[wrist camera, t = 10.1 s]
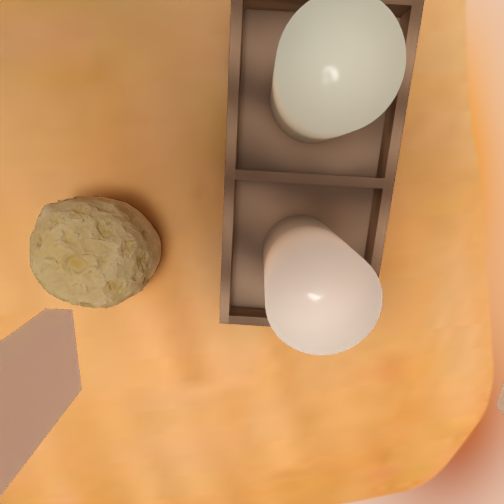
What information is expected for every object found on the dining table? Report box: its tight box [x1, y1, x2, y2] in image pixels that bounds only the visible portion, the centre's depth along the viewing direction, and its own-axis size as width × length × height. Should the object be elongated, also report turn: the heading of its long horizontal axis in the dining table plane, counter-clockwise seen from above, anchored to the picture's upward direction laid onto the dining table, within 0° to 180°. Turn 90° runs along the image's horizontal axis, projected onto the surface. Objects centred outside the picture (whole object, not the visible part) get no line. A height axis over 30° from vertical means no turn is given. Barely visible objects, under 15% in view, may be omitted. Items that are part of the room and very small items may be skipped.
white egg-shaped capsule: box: [270, 0, 406, 144], centre depth 22 cm, size 7×7×9 cm
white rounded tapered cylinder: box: [263, 214, 383, 355], centre depth 24 cm, size 6×6×12 cm
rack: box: [219, 0, 424, 326], centre depth 28 cm, size 26×13×3 cm, turn 177°
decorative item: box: [30, 196, 161, 308], centre depth 28 cm, size 10×10×10 cm
